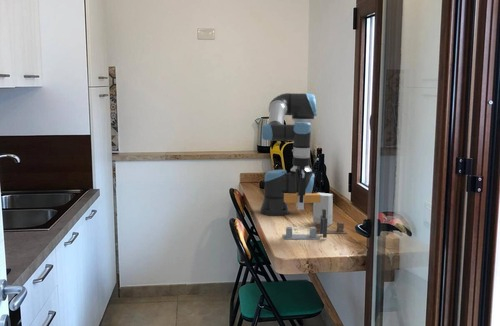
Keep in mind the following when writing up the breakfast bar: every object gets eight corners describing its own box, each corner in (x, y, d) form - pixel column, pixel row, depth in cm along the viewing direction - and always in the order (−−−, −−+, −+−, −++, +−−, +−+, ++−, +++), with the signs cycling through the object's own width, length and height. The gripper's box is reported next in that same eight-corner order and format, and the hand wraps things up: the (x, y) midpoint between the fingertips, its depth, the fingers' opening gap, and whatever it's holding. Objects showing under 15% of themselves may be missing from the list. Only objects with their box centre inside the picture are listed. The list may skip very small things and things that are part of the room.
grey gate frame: (319, 233, 238) (320, 207, 237) (323, 233, 238) (324, 207, 237) (323, 237, 232) (324, 211, 230) (326, 237, 232) (327, 211, 230)
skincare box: (332, 224, 259) (333, 193, 257) (327, 227, 253) (328, 196, 251) (317, 221, 263) (318, 191, 261) (311, 224, 257) (313, 194, 255)
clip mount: (282, 235, 237) (282, 226, 236) (316, 235, 238) (317, 225, 237) (284, 239, 230) (284, 229, 230) (319, 239, 232) (320, 229, 231)
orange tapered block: (283, 200, 234) (284, 193, 233) (318, 200, 235) (318, 193, 234) (285, 202, 230) (285, 195, 229) (320, 202, 231) (320, 195, 230)
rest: (310, 230, 247) (311, 221, 246) (343, 230, 248) (344, 221, 247) (313, 233, 241) (313, 224, 240) (346, 233, 242) (347, 224, 241)
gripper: (289, 154, 237) (288, 203, 241) (296, 159, 220) (294, 212, 224) (306, 154, 238) (304, 203, 241) (313, 159, 221) (311, 212, 224)
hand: (299, 207), depth 233 cm, fingers closed on orange tapered block, 4 cm apart
